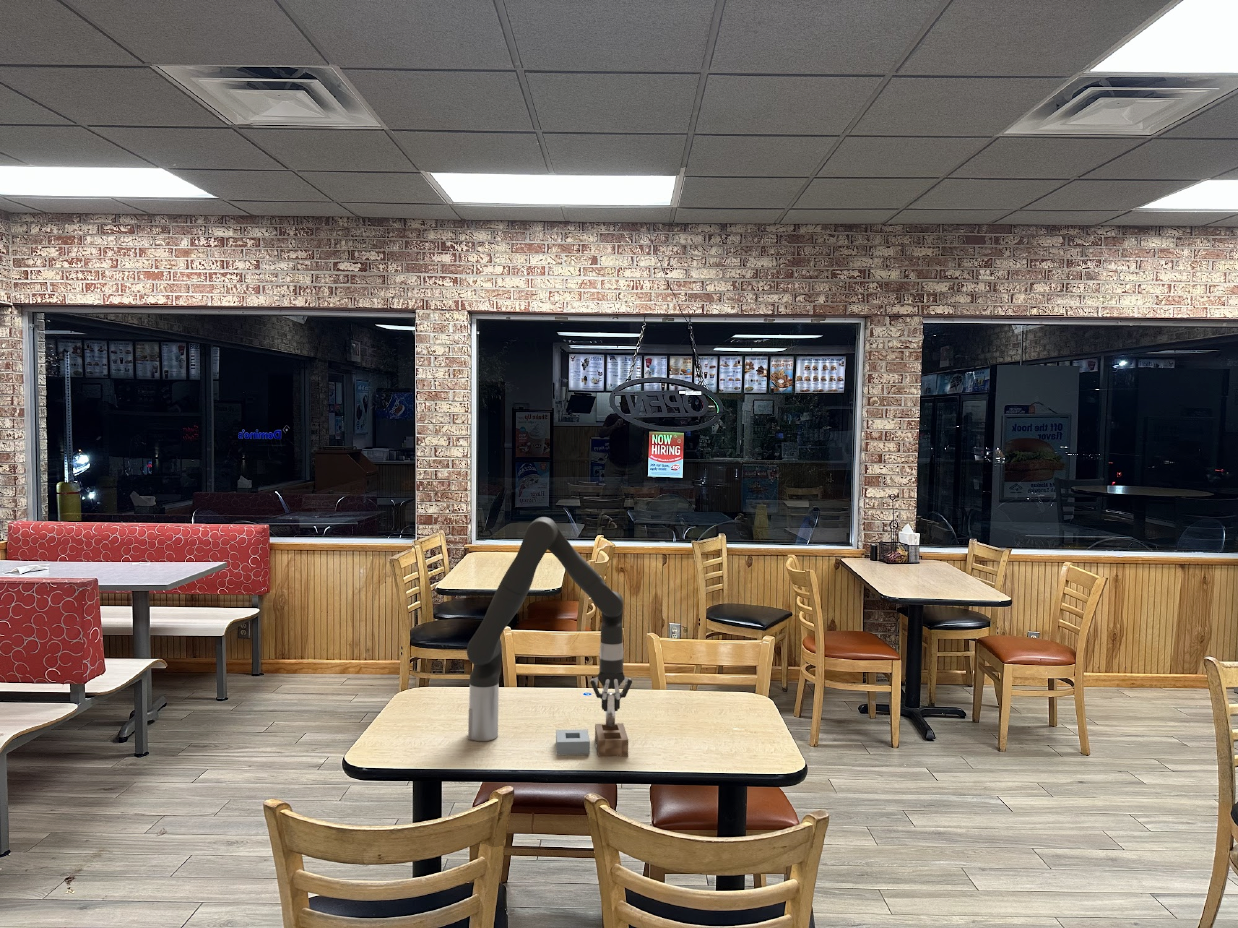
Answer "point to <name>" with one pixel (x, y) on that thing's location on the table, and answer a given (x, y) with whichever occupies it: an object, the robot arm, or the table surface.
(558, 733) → the socket block
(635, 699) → the table surface
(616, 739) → the walnut rack
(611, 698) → the steel rod
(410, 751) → the table surface
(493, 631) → the robot arm
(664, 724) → the table surface
